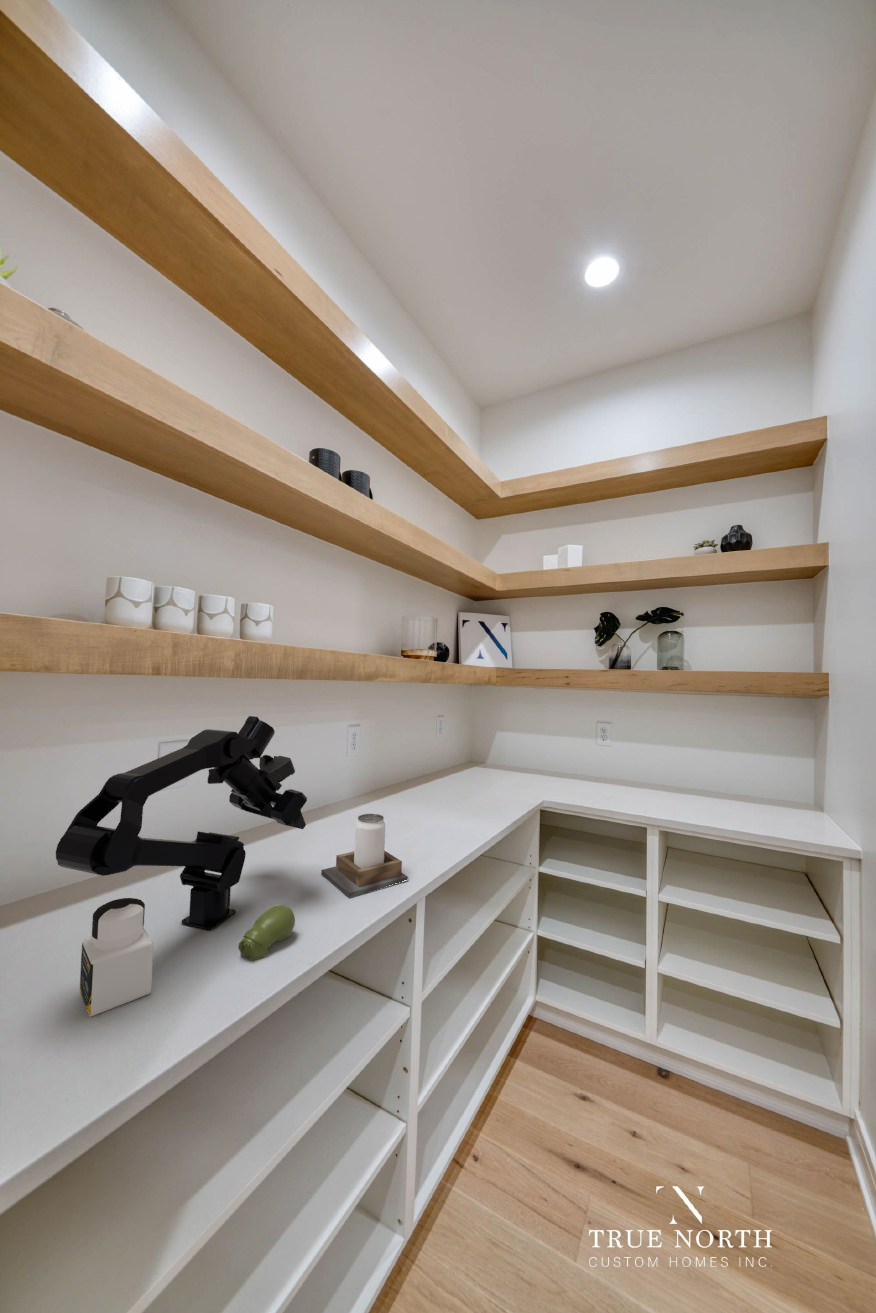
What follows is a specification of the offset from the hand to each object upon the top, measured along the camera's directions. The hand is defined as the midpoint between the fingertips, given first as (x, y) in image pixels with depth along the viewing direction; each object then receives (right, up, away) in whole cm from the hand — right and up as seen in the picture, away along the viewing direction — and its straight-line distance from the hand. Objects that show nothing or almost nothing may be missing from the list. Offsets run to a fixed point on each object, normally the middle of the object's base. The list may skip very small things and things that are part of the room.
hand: (289, 822), depth 103 cm
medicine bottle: (-13, -12, -35) cm, 40 cm away
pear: (+3, -13, -23) cm, 26 cm away
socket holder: (+16, -13, +4) cm, 21 cm away
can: (+16, -12, +4) cm, 21 cm away
